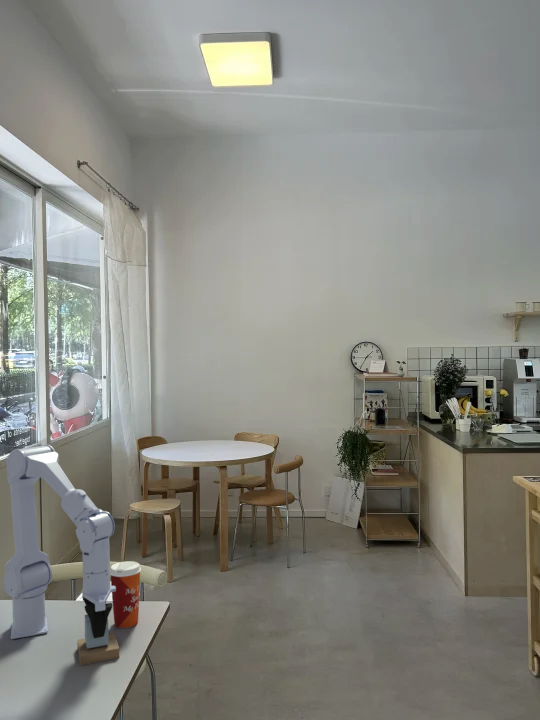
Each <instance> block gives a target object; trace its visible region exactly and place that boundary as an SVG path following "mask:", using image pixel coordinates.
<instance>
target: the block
mask: <svg viewBox="0 0 540 720" xmlns="http://www.w3.org/2000/svg"><path fill="white" fill-rule="evenodd" d="M108 634H109V618H108V619H107V623H106V629H105V634H104V637H99V638H94V636H93V633H92V627H91V622H90V619H89V616H88V615H87V614H84V639H85V641H86V646H87V649H88V648H93V647H98V646H103V645H109V639H108Z"/></svg>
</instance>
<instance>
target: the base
mask: <svg viewBox="0 0 540 720" xmlns="http://www.w3.org/2000/svg"><path fill="white" fill-rule="evenodd" d="M108 639H109V645H103V646H98V647H93V648H88V649H87V646H86V641H85V638H80V639H77V653H78V659H79V666H84V665H89V664H90V665H91V664H94V663H95V664H96V663H99V662H104V661H109V660H113V659H114V660H115V659H118V658H119V659H120V646H119V644H118V641H117V638H116V633H115V632H111V633H108Z"/></svg>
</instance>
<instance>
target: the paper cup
mask: <svg viewBox="0 0 540 720" xmlns="http://www.w3.org/2000/svg"><path fill="white" fill-rule="evenodd" d="M141 571H142V568H141V566H140V563H138V562H137V561H131V560H130V561H127V560H126V561H119V562H116V563H114V564H112V565H110V586H115V587H116V591H115V592H111V597H112V599H111V600H112V609H113V610H112V612H113V622H114V626H115V628H118V629H128V628H132V627H134V626H136V625H138V623H139V608H140V579H141Z"/></svg>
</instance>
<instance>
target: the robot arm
mask: <svg viewBox="0 0 540 720" xmlns="http://www.w3.org/2000/svg"><path fill="white" fill-rule="evenodd" d="M59 461H60V459H59V453H57V452H56V450H55V448H54V447H53V446H51V445H50V444H43V445H38V446H32V447H26V448H14V449H13V450H11V451H10V452H9V454H8V455H7V457H6V458H5V463H6V465H5V466H6V476H7V484H9V490H10V492H9V493H10V503H11V514H12V515H11V516H12V517H11V518H12V526H13V540H14V541H13V542H14V551H15V552H14V554H13V556H12V557H11V558H10V559H9V560H8V561H7V563H5V566H4V569H5V572H4V578H3V587H4V589H5V593H6V594H7V595H9V597H11V598H12V600H11V601H12V622H11V629H10V639H11V640H15V639H20V638H26V637H33V636H38V635H43V634H47V633H48V618H47V617H48V616H46V591H47V590H48V585H49V584H50V583H51V582H52V579H53V569H52V566H51V564H50V560H49V555H48V554H47V553H46V552H43V551H42V550H40V547H39V546H40V544H39V543H40V542H39V534H38V533H39V532H38V522H37V521H38V520H37V509H36V496H35V484H36V483H37V482H38V481H39V479H43V480H44V481H45V482H46V483H47V484H48V485H49V487H50V488H51V489H52V490H53V491H54V492H55V493H56V494H57V496H59V498H61V502H60V506H61V509H62V510H63V511H64V512H65V514H66V515H67V517H68V518H69V519H70V520H71V521H72V522H73V524H74V526H75V527H76V528H75V535H76V538H77V539H78V542H79V549H80V552H81V553H82V591H81V594H82V596H81V598H82V600H83V603H85V605H84V611H85V613H86V615H88V616H89V619H90V622H91V627H92V633H93V636H94V638H99V637H104V634H105V629H106V623H107V619H108V620H109V615H110V613H111V612H112V609H113V602H109V603H108V602H107V600H108V598H109V597H110V594H112V592H115V591H116V587H115V586H111V575H110V570H111V565H110V563H111V558H110V555H111V553H110V552H111V551H110V550H111V549H110V538H111V537H112V536H113V535H114V533H115V530H116V529H115V528H116V524H115V521H114V517H113V516H112V515H111V513H110V512H108V511H107V510H102V509H101V508H98V507H97V506H96V504H95V503H94V502H93V501H92V499H91V498H90V497H89V495H88V494H87V493H86V491H84V490H83V489H81V488H80V489H79V488H75V487H74V485H73V484H72V482H71V481H70V479H69V478H68V476H67V475H66V474H65V472H64V470H63V469H62V466H61V465H60V464H59ZM106 602H107V603H106Z"/></svg>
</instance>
